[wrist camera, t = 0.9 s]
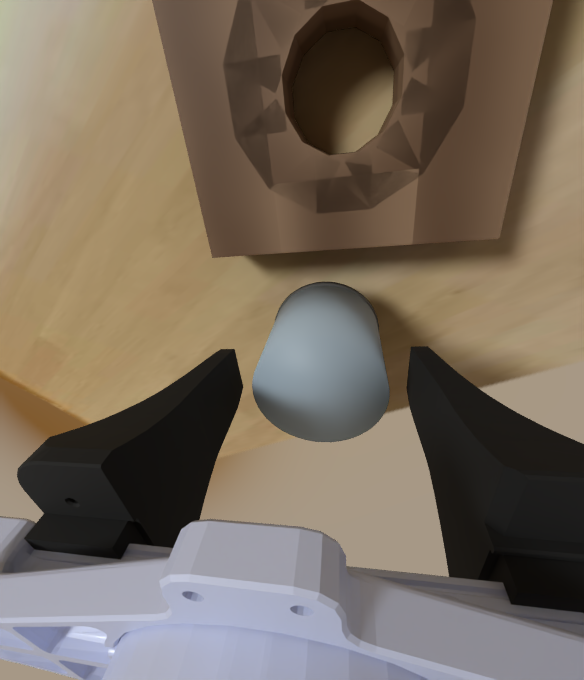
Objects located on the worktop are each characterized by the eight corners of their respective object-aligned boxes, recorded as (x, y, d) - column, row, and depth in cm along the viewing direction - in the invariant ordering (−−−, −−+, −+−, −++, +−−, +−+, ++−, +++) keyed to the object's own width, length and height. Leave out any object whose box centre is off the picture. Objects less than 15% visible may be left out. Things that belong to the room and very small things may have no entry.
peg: (375, 262, 16) (395, 333, 10) (373, 346, 18) (387, 445, 12) (278, 267, 17) (239, 336, 11) (288, 347, 19) (262, 440, 13)
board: (551, -180, 9) (617, -283, 7) (476, 225, 14) (499, 238, 12) (165, -74, 11) (122, -128, 9) (229, 243, 16) (212, 257, 14)
